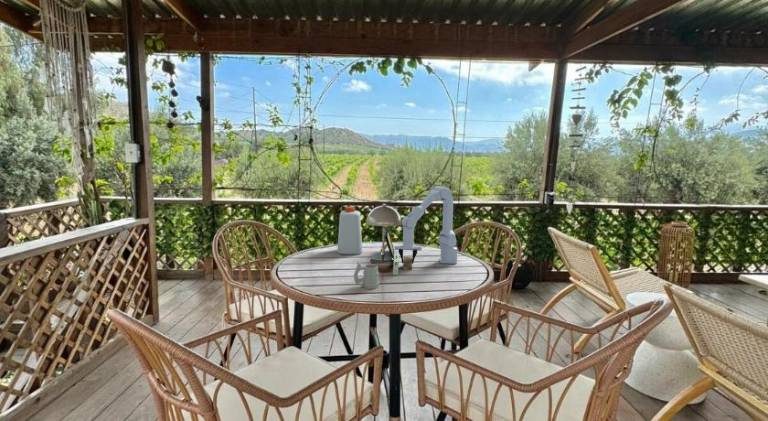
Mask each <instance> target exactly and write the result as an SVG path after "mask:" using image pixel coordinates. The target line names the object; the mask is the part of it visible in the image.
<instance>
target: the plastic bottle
mask: <svg viewBox="0 0 768 421" xmlns="http://www.w3.org/2000/svg"><path fill="white" fill-rule="evenodd" d="M338 223H339V224H338V235H337V236H338V237H337V253H338V254H339V255H342V256H343V255H345V256H346V255H351V256H354V255H361V254H362V253H363V240H362V238H363V237H362V224H361V212H360V210H356V208H355V207H354V206H345V207H344V210H341V211H340V213H339V222H338Z"/></svg>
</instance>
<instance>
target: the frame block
mask: <svg viewBox="0 0 768 421" xmlns="http://www.w3.org/2000/svg"><path fill="white" fill-rule="evenodd" d="M412 257H413V256H403V263H402V264H403V267H402V268H403V270H405V271H412V270H413V264H412Z"/></svg>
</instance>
